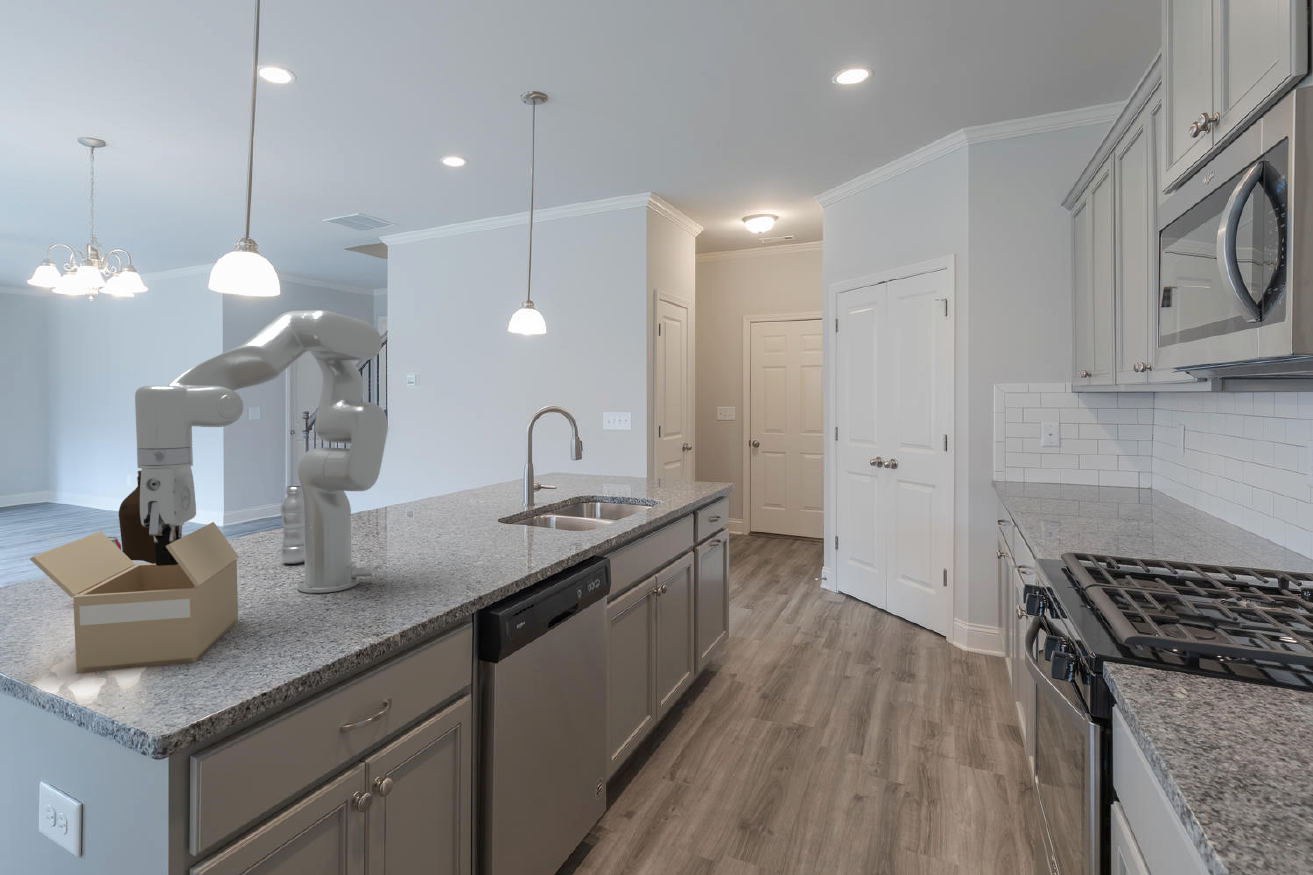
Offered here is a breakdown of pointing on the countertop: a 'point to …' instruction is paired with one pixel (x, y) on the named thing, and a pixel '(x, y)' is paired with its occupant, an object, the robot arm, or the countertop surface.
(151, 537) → the olive oil
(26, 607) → the countertop surface
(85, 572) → the flap
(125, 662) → the carton
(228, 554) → the flap
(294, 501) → the plastic bottle
